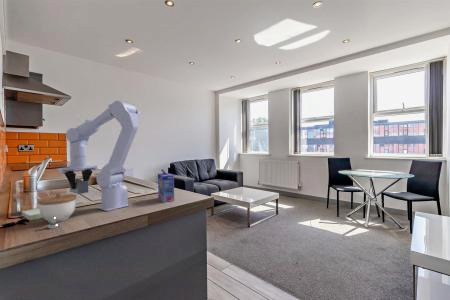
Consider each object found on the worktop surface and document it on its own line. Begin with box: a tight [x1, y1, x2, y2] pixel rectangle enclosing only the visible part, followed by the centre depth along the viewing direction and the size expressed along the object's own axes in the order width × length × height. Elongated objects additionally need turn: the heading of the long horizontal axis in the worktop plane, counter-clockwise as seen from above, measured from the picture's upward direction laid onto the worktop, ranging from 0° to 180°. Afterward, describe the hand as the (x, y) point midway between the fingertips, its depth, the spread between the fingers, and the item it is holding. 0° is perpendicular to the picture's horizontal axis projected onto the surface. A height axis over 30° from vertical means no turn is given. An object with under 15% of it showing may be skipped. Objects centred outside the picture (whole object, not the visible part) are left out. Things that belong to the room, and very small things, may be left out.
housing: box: [69, 178, 89, 195], centre depth 95 cm, size 4×8×6 cm, turn 56°
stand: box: [21, 207, 43, 221], centre depth 82 cm, size 7×10×2 cm
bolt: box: [46, 216, 60, 230], centre depth 70 cm, size 3×3×3 cm
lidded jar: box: [37, 192, 77, 223], centre depth 77 cm, size 11×11×9 cm
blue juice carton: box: [157, 169, 175, 203], centre depth 105 cm, size 10×6×14 cm, turn 31°
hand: (79, 188), depth 95 cm, fingers closed on housing, 4 cm apart
